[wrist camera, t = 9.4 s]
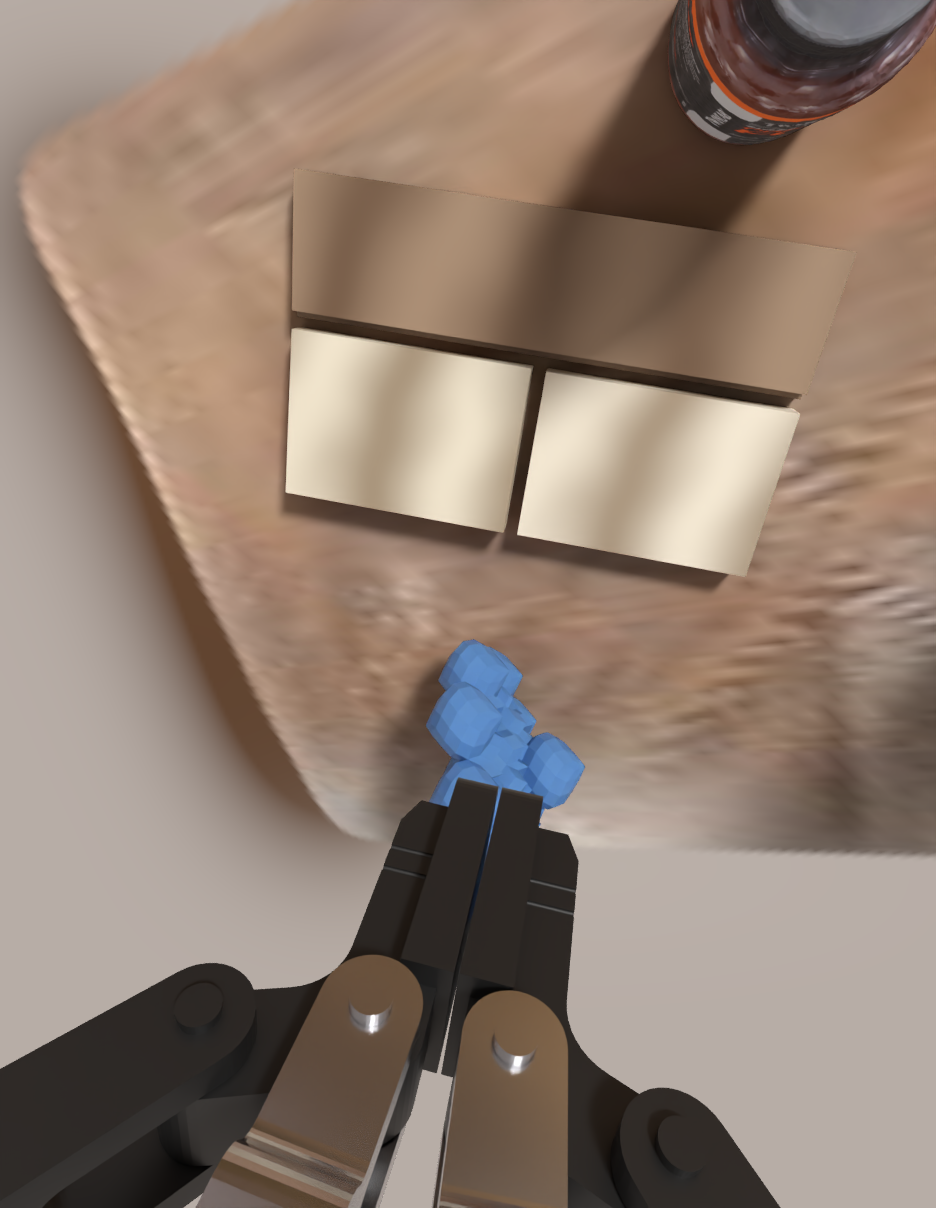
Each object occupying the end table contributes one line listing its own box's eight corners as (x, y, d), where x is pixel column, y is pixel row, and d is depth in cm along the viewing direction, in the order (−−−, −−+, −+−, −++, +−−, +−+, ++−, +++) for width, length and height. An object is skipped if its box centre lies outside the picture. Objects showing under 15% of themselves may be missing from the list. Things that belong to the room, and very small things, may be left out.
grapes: (608, 779, 40) (610, 980, 29) (488, 790, 42) (450, 984, 31) (564, 590, 35) (548, 751, 24) (431, 612, 37) (363, 771, 26)
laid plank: (847, 250, 27) (857, 251, 26) (797, 396, 29) (804, 402, 28) (304, 170, 28) (293, 168, 27) (302, 314, 31) (291, 318, 30)
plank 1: (533, 365, 30) (531, 368, 29) (506, 524, 33) (503, 532, 32) (301, 327, 31) (291, 328, 30) (295, 485, 34) (285, 492, 33)
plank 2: (792, 408, 29) (800, 414, 28) (740, 566, 33) (745, 577, 32) (547, 367, 30) (546, 371, 29) (519, 525, 33) (517, 534, 32)
